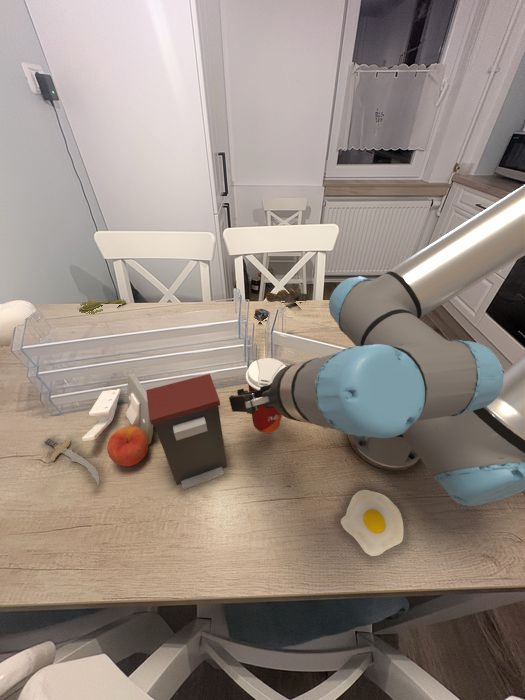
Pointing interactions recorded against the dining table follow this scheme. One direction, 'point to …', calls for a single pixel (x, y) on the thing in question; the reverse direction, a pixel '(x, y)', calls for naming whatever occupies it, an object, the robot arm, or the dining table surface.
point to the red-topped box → (189, 429)
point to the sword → (72, 456)
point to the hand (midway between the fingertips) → (260, 392)
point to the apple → (128, 446)
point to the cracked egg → (373, 522)
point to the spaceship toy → (97, 305)
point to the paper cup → (257, 377)
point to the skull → (13, 318)
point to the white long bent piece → (103, 412)
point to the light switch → (138, 406)
